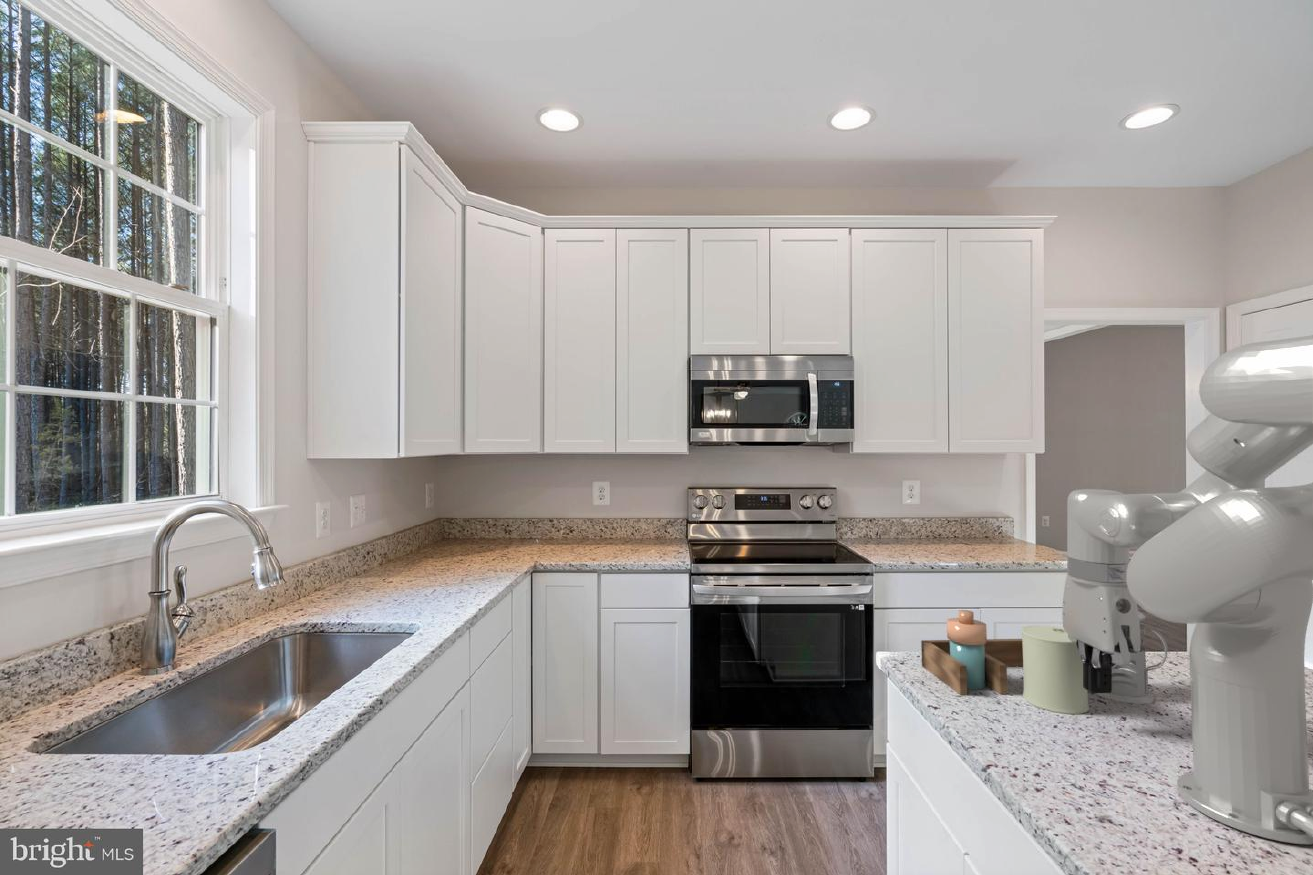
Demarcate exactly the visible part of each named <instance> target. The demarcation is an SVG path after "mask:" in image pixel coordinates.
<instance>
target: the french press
mask: <svg viewBox="0 0 1313 875" xmlns="http://www.w3.org/2000/svg"><path fill="white" fill-rule="evenodd" d="M1138 614H1139V623H1140V622H1142V621H1145V619H1146V615H1145V614H1143V613H1142V612H1141V611H1139V610H1138ZM1147 630H1149V631H1151V632H1153V633H1155V635H1157V637H1159V639H1160V640H1161V642H1162V644H1163V647H1164V657H1163V658H1162V660H1161V662H1158V663H1157V664H1154V665H1149V666H1147V665H1146V649H1145V647H1144V646H1143V645H1141V644H1142V643H1143V642H1144V640H1143V638H1142V637H1140V651H1139V652H1138V653H1130V652H1129V656H1130V662H1131V663H1130V664H1124V665H1120V664H1116V666H1115V668H1112V691H1111V693H1096V694H1098V695H1099V697H1100V696H1102V697H1101V698H1104V697H1105V698H1104V699H1107V698H1108V699H1107V700H1111V699H1112V701H1115V702H1120V701H1121V702H1122V703H1127V704H1135V705H1136V704H1139V705H1143V704H1145V703H1146V704H1152V703H1153V702H1154V701H1153V700H1154V698H1155V696H1154V695H1153V694H1152V693H1151V691H1149V676H1148V675H1149V674H1148V672H1149V671H1153V670H1158V669H1159V668H1161V667H1162V666H1163V665H1164V664H1165V662H1166V660H1167V657H1168V648H1169V647H1168V642H1167V641H1166V639H1165V637H1164V636H1163V634H1162V633H1161V632H1160V631H1159V630H1157V629H1156V628H1155V627H1153V626H1152V625H1150V624H1144V625H1143V627H1142V634H1143V635H1146V633H1147ZM1087 692H1089V690H1087ZM1096 694H1095V695H1096ZM1098 695H1097V696H1098ZM1153 696H1154V697H1153ZM1152 701H1153V702H1152ZM1121 702H1120V703H1121Z"/></svg>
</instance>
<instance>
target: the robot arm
mask: <svg viewBox="0 0 1313 875" xmlns="http://www.w3.org/2000/svg"><path fill="white" fill-rule="evenodd" d="M1198 386H1199V388H1198V394H1199V397H1200V401H1201V404H1202V405H1203V406H1204V408H1205V409H1206V410H1207V411H1208V412H1209V413H1210V414H1209V415H1208V416H1206V417H1205V418H1204V419H1203V420H1202V421H1201V422H1200V423H1198V424H1197V425H1196V426H1195V427H1194V428H1193V429H1192V430H1191V431H1190V432H1189V433H1188V434H1187V436H1186V440H1185V442H1186V443H1185V444H1186V448H1187V451H1188V453H1189V455H1190V456H1191V457H1192V459H1193V460H1194V461H1195V462H1196V463H1197V464H1198V465H1199V466H1200V467H1201V468H1203V469H1204V470H1205V471H1204V473H1202V474H1201V475H1200V476H1199V477H1198V478H1196V480H1194V481H1193V482H1191V483H1190V484H1189V485H1187V486H1186V487H1184V488H1183V489H1182V490H1180V491H1179V492H1174V493H1173V492H1160V493H1157V492H1156V493H1126V494H1125V493H1123V492H1121V491H1118V490H1112V489H1111V490H1110V489H1101V488H1100V489H1099V488H1097V489H1095V488H1083V489H1075V490H1073V491H1071V492H1070V493H1069V494H1068V497H1067V500H1066V502H1067V503H1066V504H1067V505H1066V507H1067V510H1066V511H1067V516H1066V517H1067V518H1066V519H1067V528H1066V529H1067V532H1066V533H1067V534H1066V535H1067V539H1066V540H1067V541H1066V542H1067V544H1066V547H1067V548H1066V549H1067V550H1066V551H1067V552H1066V554H1067V555H1066V556H1067V557H1066V558H1067V561H1066V562H1067V563H1066V567H1067V568H1066V570H1067V571H1066V577H1065V578H1066V579H1065V584H1064V589H1063V598H1062V616H1061V617H1062V618H1061V619H1062V628H1063V629H1064V630H1065V632H1066V633H1067V634H1068V638H1069V640H1070V641H1072V642H1073V643H1074V644H1075V645H1077V647H1078V649H1079V654H1080V659H1081V661H1082V662H1085V663H1083V688H1085V689H1086V690H1087V691H1088V690H1089V691H1090V692H1089V691H1088V692H1089V693H1092V694H1093V693H1111V691H1112V668H1115V666H1116V664H1120V665H1124V664H1130V663H1131V662H1130V656H1129V652H1130V653H1138V652H1139V651H1140V645H1141V643H1140V638H1141V624H1140V622H1139V614H1138V611H1139V608H1138V606H1139V607H1140V608H1141V609H1143V610H1144V611H1145V612H1147V613H1148V614H1150V615H1152V616H1153V617H1155V618H1158V619H1160V620H1163V621H1167V622H1170V623H1174V624H1175V623H1176V624H1191V625H1192V624H1195V627H1194V629H1193V631H1192V634H1191V637H1190V638H1191V639H1190V642H1189V643H1190V644H1189V653H1188V654H1189V655H1188V656H1189V677H1190V678H1189V681H1190V683H1189V684H1190V687H1189V688H1190V706H1191V707H1190V708H1191V712H1190V713H1191V732H1192V734H1191V736H1192V737H1191V738H1192V757H1193V758H1192V759H1193V762H1192V763H1193V771H1190V772H1185V773H1184V774H1181V775H1179V777H1178V778H1177V781H1176V782H1177V786H1176V787H1177V792H1178V794H1179V795H1180V797H1181V798H1182V799H1183V800H1185V801H1186V802H1187V804H1188V805H1190V806H1191V807H1193V808H1194V809H1196V810H1197V811H1198V812H1200V813H1201V814H1204V815H1205V816H1207V817H1209V818H1211V819H1213V820H1215V821H1217V822H1219V823H1221V824H1224V825H1226V826H1228V827H1231V828H1234V829H1235V830H1239V831H1242V832H1245V833H1248V834H1251V835H1254V836H1258V837H1261V838H1265V839H1268V840H1274V841H1278V842H1281V843H1282V842H1283V843H1288V844H1296V845H1313V790H1311V789H1310V773H1309V755H1308V754H1309V750H1308V729H1307V726H1308V725H1307V709H1306V706H1307V705H1306V676H1305V648H1306V647H1305V644H1306V635H1307V630H1308V624H1309V621H1310V617H1311V613H1312V607H1313V482H1311V483H1307V484H1301V485H1293V486H1292V485H1291V486H1281V487H1280V486H1277V487H1275V486H1274V487H1273V486H1272V487H1270V486H1269V487H1265V485H1266V480H1267V478H1268V477H1270V476H1271V475H1273V474H1274V473H1275V472H1276V471H1277V470H1279V469H1281V468H1282V467H1283V466H1284V465H1286V464H1287V463H1289V462H1290V461H1291V460H1292V459H1294V458H1295V457H1297V456H1298V455H1300V454H1302V453H1303V452H1304V451H1305V450H1307V449H1308V448H1310V447H1311V446H1312V445H1313V334H1312V335H1305V336H1297V337H1290V338H1285V339H1274V340H1266V341H1258V342H1251V343H1246V344H1242V345H1240V346H1237V347H1234V348H1232V349H1230V350H1227V351H1225V352H1224V353H1223V354H1221V355H1219V356H1218V357H1217V358H1215V359H1214V360H1213V361H1212V362H1211V363H1210V364H1209V365H1208V366H1207V368H1206V369H1205V371H1204V373H1203V375H1202V376H1201V380H1200V383H1199V385H1198ZM1131 549H1132V550H1134V549H1135V550H1136V551H1135V552H1134V553H1133V555H1132V556H1131V558H1130V550H1131ZM1131 664H1132V663H1131Z"/></svg>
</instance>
